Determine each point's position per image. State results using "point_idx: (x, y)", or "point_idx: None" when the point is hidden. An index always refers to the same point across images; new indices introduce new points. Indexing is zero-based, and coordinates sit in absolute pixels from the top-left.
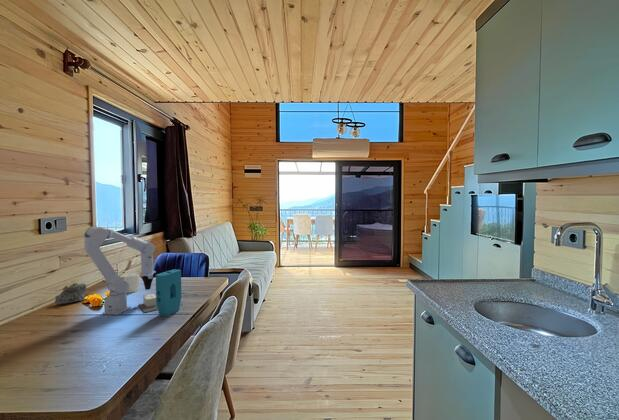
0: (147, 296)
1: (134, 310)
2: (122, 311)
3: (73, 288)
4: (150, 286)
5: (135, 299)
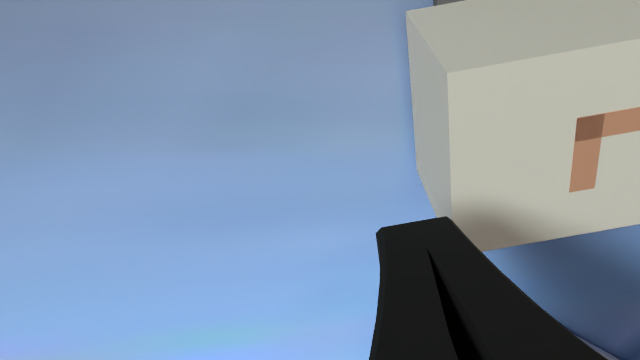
0: (579, 191)
1: (629, 252)
2: (607, 358)
3: None
4: (490, 262)
5: (108, 264)
